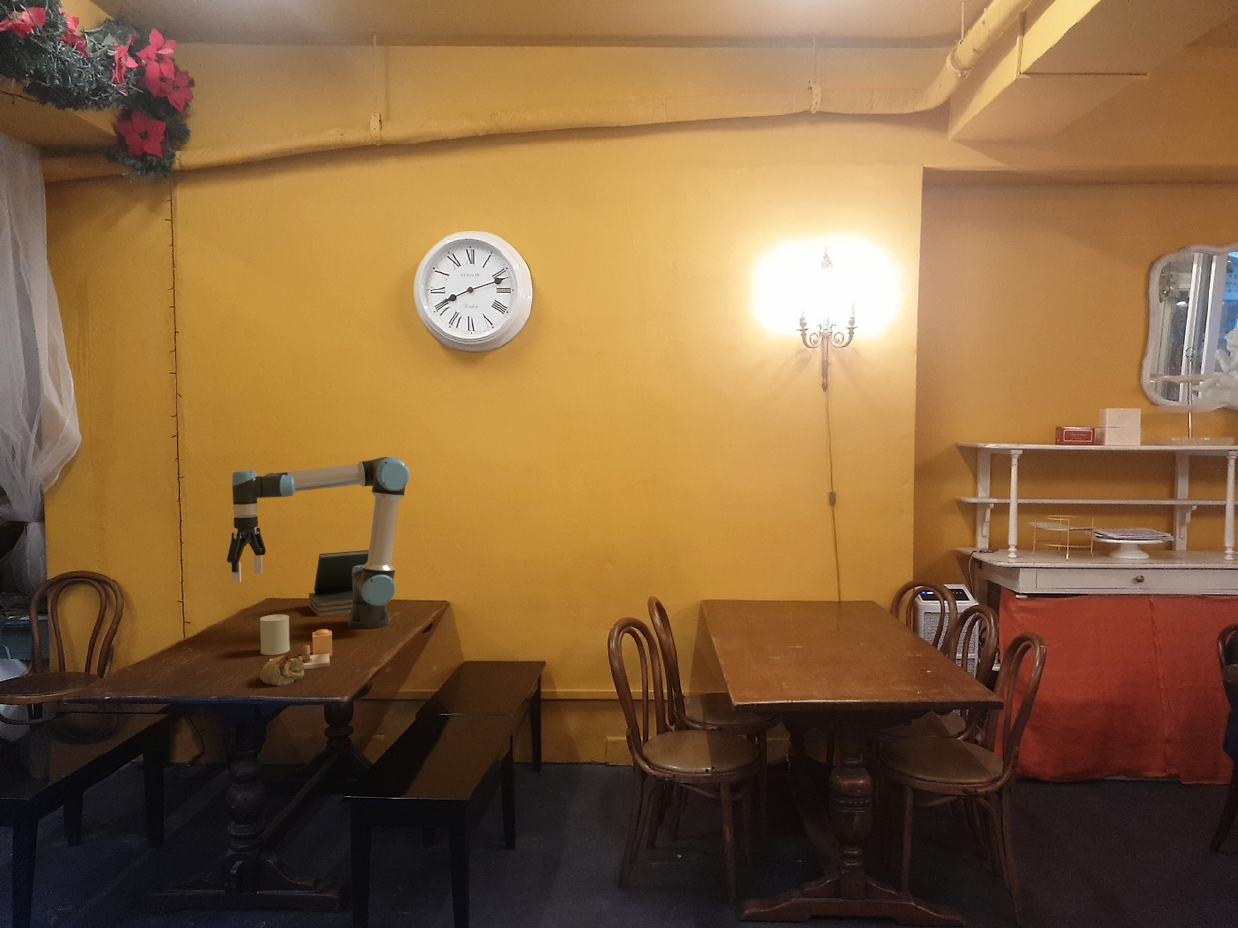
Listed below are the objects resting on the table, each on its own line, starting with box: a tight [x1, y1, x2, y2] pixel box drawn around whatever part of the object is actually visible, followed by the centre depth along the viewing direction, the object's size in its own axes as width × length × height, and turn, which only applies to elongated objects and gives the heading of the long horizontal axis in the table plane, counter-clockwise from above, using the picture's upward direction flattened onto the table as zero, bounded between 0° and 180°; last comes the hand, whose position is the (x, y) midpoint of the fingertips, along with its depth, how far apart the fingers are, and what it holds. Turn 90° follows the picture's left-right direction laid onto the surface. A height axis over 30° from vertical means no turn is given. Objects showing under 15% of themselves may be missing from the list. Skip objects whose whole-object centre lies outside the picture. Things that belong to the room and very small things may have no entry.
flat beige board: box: [269, 644, 331, 670], centre depth 255 cm, size 18×11×6 cm, turn 111°
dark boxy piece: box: [308, 549, 369, 617], centre depth 333 cm, size 23×20×25 cm
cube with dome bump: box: [312, 628, 333, 657], centre depth 266 cm, size 6×6×8 cm
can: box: [259, 614, 291, 656], centre depth 270 cm, size 9×9×12 cm
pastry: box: [259, 653, 305, 687], centre depth 241 cm, size 14×12×8 cm
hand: (247, 577), depth 273 cm, fingers open, 13 cm apart
